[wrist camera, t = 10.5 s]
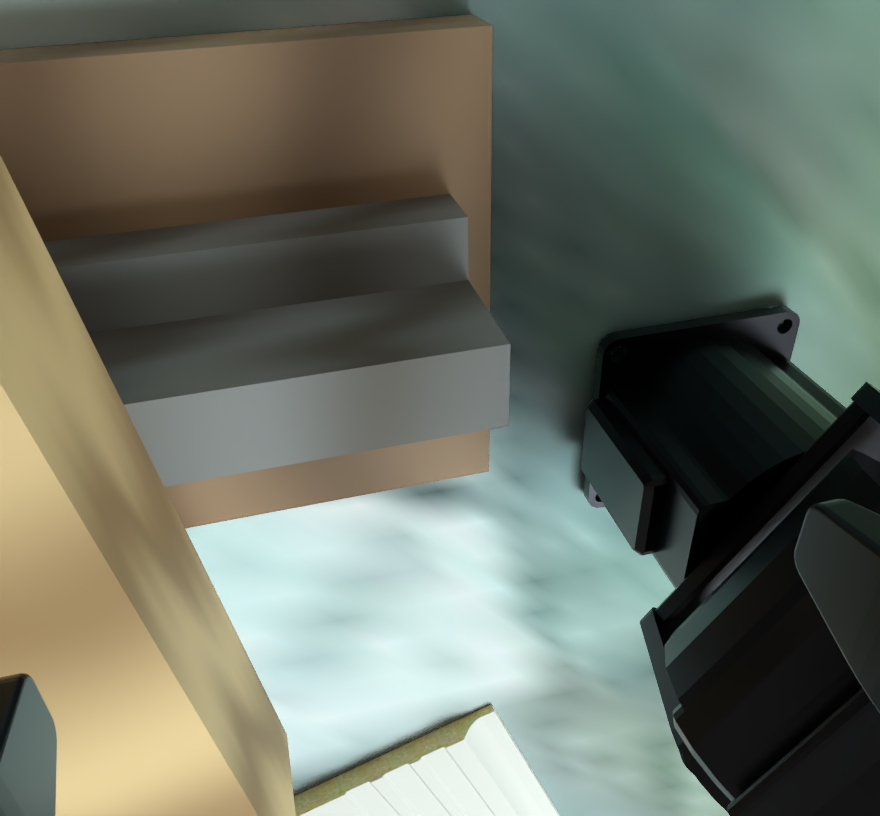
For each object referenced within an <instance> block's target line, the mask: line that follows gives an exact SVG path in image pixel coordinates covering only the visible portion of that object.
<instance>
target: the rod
mask: <svg viewBox="0 0 880 816" xmlns="http://www.w3.org/2000/svg"><path fill="white" fill-rule="evenodd" d="M19 673H26V674H28V675H29V676H31V677H32V679H33V680H34V682H35V684H36V686H37V688H38V690H39V692H40V694H41V696H42V698H43V700H44V702H45V704H46V706H47V708H48V710H49V712H50V714H51V716H52V718H53V720H54V724H55V728H56V735H57V765H56V812H55V816H296V813H295V804H294V795H293V787H292V778H291V769H290V760H289V751H288V742H287V734H286V732H285V730H284V728H283V726H282V724H281V722H280V720H279V718H278V716H277V714H276V712H275V710H274V708H273V706H272V704H271V702H270V700H269V698H268V696H267V694H266V692H265V690H264V688H263V686H262V684H261V682H260V680H259V678H258V676H257V674H256V671H255V669H254V667H253V665H252V663H251V661H250V659H249V657H248V655H247V653H246V651H245V649H244V647H243V645H242V643H241V641H240V639H239V637H238V635H237V633H236V631H235V629H234V627H233V625H232V623H231V621H230V619H229V617H228V615H227V613H226V611H225V609H224V607H223V605H222V603H221V601H220V599H219V597H218V595H217V593H216V591H215V589H214V586H213V584H212V582H211V580H210V578H209V576H208V574H207V572H206V570H205V568H204V566H203V564H202V562H201V560H200V558H199V556H198V554H197V552H196V550H195V548H194V546H193V544H192V542H191V540H190V538H189V536H188V534H187V532H186V530H185V528H184V526H183V524H182V522H181V520H180V518H179V516H178V514H177V512H176V510H175V508H174V506H173V504H172V502H171V499H170V497H169V495H168V493H167V491H166V489H165V487H164V485H163V483H162V481H161V479H160V477H159V475H158V473H157V471H156V469H155V467H154V465H153V463H152V461H151V459H150V457H149V455H148V453H147V451H146V449H145V447H144V445H143V443H142V441H141V439H140V437H139V435H138V433H137V431H136V429H135V427H134V425H133V423H132V421H131V419H130V417H129V415H128V412H127V410H126V408H125V406H124V404H123V402H122V400H121V398H120V396H119V394H118V392H117V390H116V388H115V386H114V384H113V382H112V380H111V378H110V376H109V374H108V372H107V370H106V368H105V366H104V364H103V362H102V360H101V358H100V356H99V354H98V352H97V350H96V348H95V346H94V344H93V342H92V340H91V338H90V336H89V334H88V332H87V330H86V327H85V325H84V323H83V321H82V319H81V317H80V315H79V313H78V311H77V309H76V307H75V305H74V303H73V301H72V299H71V297H70V295H69V293H68V291H67V289H66V287H65V285H64V283H63V281H62V279H61V277H60V275H59V273H58V271H57V269H56V267H55V265H54V263H53V261H52V259H51V257H50V255H49V253H48V251H47V249H46V247H45V245H44V243H43V240H42V238H41V236H40V234H39V232H38V230H37V228H36V226H35V224H34V222H33V220H32V218H31V216H30V214H29V212H28V210H27V208H26V206H25V204H24V202H23V200H22V198H21V196H20V194H19V192H18V190H17V188H16V186H15V184H14V182H13V180H12V178H11V176H10V174H9V172H8V170H7V168H6V166H5V164H4V162H3V160H2V158H1V156H0V677H5V676H9V675H14V674H19Z"/></svg>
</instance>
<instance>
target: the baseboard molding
mask: <svg viewBox="0 0 880 816" xmlns="http://www.w3.org/2000/svg"><path fill="white" fill-rule="evenodd" d="M294 804H295V813H296V816H560V814H559V812H558V811H557V809H556V808H555V806H554V804H553V803H552V801H551V799H550V798H549V796H548V795H547V793H546V791H545V790H544V788H543V786H542V785H541V783H540V782H539V780H538V778H537V777H536V775H535V773H534V772H533V770H532V769H531V767H530V765H529V764H528V762H527V760H526V759H525V757H524V756H523V754H522V752H521V751H520V749H519V747H518V746H517V744H516V743H515V741H514V739H513V738H512V736H511V734H510V733H509V731H508V730H507V728H506V726H505V725H504V723H503V721H502V720H501V718H500V717H499V715H498V713H497V712H496V710H495V708H494V707H493V705H492V704H490V705H488V706H486V707H484V708H482V709H480V710H478V711H476V712H473V713H471V714H469V715H467V716H465V717H463V718H461V719H458V720H456V721H454V722H452V723H450V724H448V725H446V726H443V727H441V728H439V729H437V730H435V731H433V732H431V733H429V734H426V735H424V736H422V737H420V738H418V739H416V740H414V741H411V742H409V743H407V744H405V745H403V746H401V747H399V748H396V749H394V750H392V751H390V752H388V753H386V754H384V755H382V756H379V757H377V758H375V759H373V760H371V761H369V762H367V763H364V764H362V765H360V766H358V767H356V768H354V769H352V770H349V771H347V772H345V773H343V774H341V775H339V776H337V777H334V778H332V779H330V780H328V781H326V782H324V783H322V784H320V785H317V786H315V787H313V788H311V789H309V790H307V791H305V792H302V793H300V794H298V795H296V796H294Z"/></svg>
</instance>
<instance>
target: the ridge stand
mask: <svg viewBox="0 0 880 816" xmlns="http://www.w3.org/2000/svg"><path fill="white" fill-rule="evenodd" d="M492 34H493V25H491V24H489V23H487V22H485V21H484V20H482V19H480V18H478V17H476V16H474V15H473V14H470V15H457V16H443V17H430V18H416V19H403V20H390V21H376V22H363V23H350V24H336V25H323V26H310V27H296V28H283V29H270V30H256V31H243V32H230V33H216V34H203V35H189V36H176V37H163V38H149V39H136V40H123V41H109V42H96V43H83V44H69V45H56V46H43V47H29V48H16V49H3V50H0V156H1V158H2V160H3V162H4V164H5V166H6V168H7V170H8V172H9V174H10V176H11V178H12V180H13V182H14V184H15V186H16V188H17V190H18V192H19V194H20V196H21V198H22V200H23V202H24V204H25V206H26V208H27V210H28V212H29V214H30V216H31V218H32V220H33V222H34V224H35V226H36V228H37V230H38V232H39V234H40V236H41V238H42V240H43V243H44V245H45V247H46V249H47V251H48V253H49V255H50V257H51V259H52V261H53V263H54V265H55V267H56V269H57V271H58V273H59V275H60V277H61V279H62V281H63V283H64V285H65V287H66V289H67V291H68V293H69V295H70V297H71V299H72V301H73V303H74V305H75V307H76V309H77V311H78V313H79V315H80V317H81V319H82V321H83V323H84V325H85V327H86V330H87V332H88V334H89V336H90V338H91V340H92V342H93V344H94V346H95V348H96V350H97V352H98V354H99V356H100V358H101V360H102V362H103V364H104V366H105V368H106V370H107V372H108V374H109V376H110V378H111V380H112V382H113V384H114V386H115V388H116V390H117V392H118V394H119V396H120V398H121V400H122V402H123V404H124V406H125V408H126V410H127V412H128V415H129V417H130V419H131V421H132V423H133V425H134V427H135V429H136V431H137V433H138V435H139V437H140V439H141V441H142V443H143V445H144V447H145V449H146V451H147V453H148V455H149V457H150V459H151V461H152V463H153V465H154V467H155V469H156V471H157V473H158V475H159V477H160V479H161V481H162V483H163V485H164V487H165V489H166V491H167V493H168V495H169V497H170V499H171V502H172V504H173V506H174V508H175V510H176V512H177V514H178V516H179V518H180V520H181V522H182V524H183V526H184V528H189V527H195V526H200V525H205V524H211V523H216V522H221V521H227V520H232V519H237V518H243V517H248V516H253V515H259V514H264V513H269V512H275V511H280V510H285V509H291V508H296V507H301V506H306V505H312V504H317V503H322V502H328V501H333V500H338V499H344V498H349V497H354V496H360V495H365V494H370V493H376V492H381V491H386V490H392V489H397V488H402V487H408V486H413V485H418V484H424V483H429V482H434V481H440V480H445V479H450V478H455V477H461V476H466V475H471V474H477V473H482V472H487V471H489V429H494V428H499V427H505V426H509V391H510V351H511V344H510V342H509V341H508V339H507V338H506V336H505V335H504V333H503V332H502V330H501V329H500V327H499V326H498V324H497V322H496V321H495V319H494V318H493V316H492V315H491V313H490V270H491V152H492Z"/></svg>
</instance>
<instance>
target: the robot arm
mask: <svg viewBox="0 0 880 816" xmlns="http://www.w3.org/2000/svg"><path fill="white" fill-rule="evenodd" d="M783 320H784V322H783V323H782V324H781V325H780V326H779V327H778V325H779V324H780V323H781V322H782V321H783ZM799 321H800V319H799V316H798V314H796V313H795V312H794V311H792V310H791V309H789V308H788V307H786V306H778V307H772V308H766V309H759V310H753V311H747V312H740V313H734V314H728V315H722V316H715V317H709V318H703V319H696V320H690V321H684V322H677V323H671V324H665V325H658V326H652V327H646V328H640V329H633V330H627V331H621V332H614V333H612V334H609V335H607V336H606V337H604V338H603V339H602V341H601V342H600V343H599V346H598V349H597V359H596V369H595V379H594V390H593V400H592V401H590V403H589V405H588V406H587V408H586V418H585V429H584V439H583V450H582V461H581V469H582V471H583V473H584V474H585V483H584V496H585V497H586V499H587V500H588V502H589V503H590V505H591V506H593V507H606V509H607V510H608V512H609V513H610V515H611V516H612V518H613V519H614V521H615V523H616V524H617V526H618V527H619V529H620V530H621V532H622V533H623V535H624V537H625V538H626V540H627V541H628V543H629V544H630V546H631V547H632V549H633V550H634V551H636V552H637V553H638V554H640V555H646V554H651V553H652V554H653V556H654V557H655V559H656V560H657V562H658V563H659V565H660V566H661V568H662V569H663V571H664V572H665V574H666V575H667V577H668V578H669V580H670V581H671V583H672V584H673V586H674V587H675V590H674V591H673V592H672V593H671V594H670V595H669V596H668V597H667V598H666V599H665V600H664V601H663V602H662V603H661V604H660V606H659V607H658V608H652V609H651V610H650V611H649V612H648V613H647V614H646V615H645V616H644V617H643V618H642V619H641V621H640V625H641V628H642V632H643V635H644V639H645V642H646V645H647V649H648V652H649V656H650V659H651V663H652V666H653V669H654V673H655V676H656V680H657V683H658V687H659V690H660V694H661V697H662V700H663V704H664V707H665V711H666V714H667V718H668V721H669V724H670V728H671V731H672V734H673V736H674V739H675V742H676V744H677V747H678V749H679V752H680V755H681V758H682V760H683V763H684V764H685V766H686V767H687V768H688V769H689V770H690V771H691V772H692V773H693V774H694V775H695V776H696V777H697V779H698V780H699V782H700V783H701V784H702V785H703V786H704V788H705V789H706V790H707V791H708V792H709V793H710V795H711V796H712V797H713V798H714V799H715V800H716V801H717V802H718V803H719V804H720V805H721V806H722V807H723V808H724V809H725V810H726V811H727V812H728V813H729V815H730V816H880V390H878V389H877V388H875V387H874V386H872V385H871V384H869V383H868V382H866V383H865V384H864V385H863V386H862V387H861V388H860V389H859V390H858V391H857V392H856V393H855V394H854V395H853V396H852V398H851V399H852V400H853V402H852V403H851V404H850V405H849V406H848V407H847V409H846V408H845V407H844V406H843V405H842V404H841V403H839V402H838V401H837V400H836V399H835V398H833V397H832V396H831V395H830V394H829V393H827V392H826V391H825V390H824V389H823V388H821V387H820V386H819V385H818V384H817V383H815V382H814V381H813V380H812V379H811V378H809V377H808V376H807V375H806V374H805V373H803V372H802V371H801V370H800V369H799V368H797V367H796V366H795V365H794V364H793V363H792V362H790V358H791V354H792V351H793V347H794V343H795V339H796V335H797V331H798V327H799ZM619 346H621V347H620V350H619V351H618V352H617V353H615V354H613V355H611V353H612V351H613V350H614V349H615V348H616V347H619ZM56 765H57V735H56V728H55V724H54V720H53V718H52V716H51V714H50V712H49V710H48V708H47V706H46V704H45V702H44V700H43V698H42V696H41V694H40V692H39V690H38V688H37V686H36V684H35V682H34V680H33V679H32V677H31V676H29V675H28V674H26V673H19V674H14V675H9V676H5V677H0V816H55V812H56Z"/></svg>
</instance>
